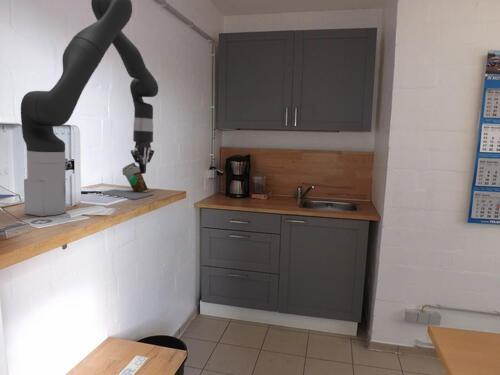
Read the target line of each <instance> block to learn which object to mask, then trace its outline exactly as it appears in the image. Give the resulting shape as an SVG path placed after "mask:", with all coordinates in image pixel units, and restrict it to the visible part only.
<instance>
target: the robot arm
mask: <svg viewBox="0 0 500 375" xmlns="http://www.w3.org/2000/svg"><path fill="white" fill-rule="evenodd" d="M90 4H91V9H92V12H93V15H94V17H95V19H96V20H97V21H95V22H94V23H92V24H90V25H88V26H87V27H85V28H83V29H82V30H80V31H78V32H77V33H76V34H75V35H74V36H73V37H72V39H71V40H70V41H69V42H68V44H67V45H66V47H65V49H64V50H63V53H62V60H61V61H62V74H61V76H60V78H59V79H58V81H57V82H56V83H55V85H54V86H53V87H51V89H50V90H32V91H29V92H27V93H26V94H24V96H23V97H22V99H21V102H20V120H21V122H20V123H21V133H22V134H21V135H22V139H23V141H24V143H25V146H26V172H27V174H26V177H27V178H25V179H24V180H23V189H24V190H23V192H24V193H23V195H24V214H25V215H31V216H38V217H44V216H55V215H61V214H65V213H66V211H67V207H66V205H67V198H66V196H67V195H66V192H67V191H66V189H67V188H66V185H67V184H66V143H65V141H63V140H62V139H60V138H59V137H58V136H57V135H56V134H55V132H54V127H61V126H63V125H65V124H67V122H68V121H69V120H70V118H72V115H73V113H74V111H75V109H76V107H77V105H78V102H79V99H80V97H81V95H82V93H83V91H84V89H85V88H86V86H87V85H88V83H89V81H90V79H91V78H92V75H94V72H95V71H96V69H97V68H98V66H99V65H100V64H101V62H102V60H103V58H104V56H105V54H106V53H107V51H108V49H109V48H110V46H111V45H113V47H114V48H115V50H116V51H117V53H118V55H119V57H120V59H121V61H122V63H123V65H124V68H125V70H126V72H127V74H128V76H129V77H130V78H132V80H131V81H130V85H129V90H130V94H131V97H132V101H133V106H134V114H133V115H134V116H133V117H134V118H133V130H132V131H133V136H132V138H133V139H132V140H133V142H134V143H135V145H134V149H132V150H130V154H131V156H132V157H133V159H134V163H136V164H138V167H139V169H140V171H141V174H142V175H143V174H144V175H145V174H146V173H147V164H148V163H150V162H151V160H152V158H153V155H154V154H155V150H154V149H152V145H151V144H152V143H153V141H154V106H153V105H152V104H151V103H148V102H145V101H144V99H143V98H155V97H156V96H157V95H158V93H159V84H158V82H157V80H156V78H155V77H154V76H153V75H152V73H151V72H150V71H149V69H148V68H147V67H146V64H145V60H144V59H143V57H142V54H141V52H140V50H139V49H138V47H137V46H136V45H135V44H134V43H133V42H132V40H130V39H129V38H128V37H127V35H126V34H124V32H123V31H122V30H123V29H124V28H125V27H126V25H128V22H130V19H131V17H132V15H133V14H132V13H133V4H132V0H91V2H90Z"/></svg>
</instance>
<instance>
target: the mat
mask: <svg viewBox="0 0 500 375" xmlns="http://www.w3.org/2000/svg"><path fill="white" fill-rule="evenodd" d="M100 192H101V193H96V192H95V193H96V194H103V195H109V196H108V197H110V196H117V197H124V198H123V199H125V198H127V199H126V200H134V201H135V200H139V199H144V198H149V197H153V196H154V193H147V192H134V191H133V190H131V191H129V190H123V189H116V188H115V189H109V190H101V191H100ZM117 197H116V198H117Z"/></svg>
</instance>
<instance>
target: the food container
mask: <svg viewBox="0 0 500 375" xmlns="http://www.w3.org/2000/svg"><path fill="white" fill-rule="evenodd" d="M135 163H136V162H131V163H130V164H127V165H125V166H124V167H123V168H122V171H121V172H122V175H123V176H125V177H126V179H127V181H128V183H129V185H130V188H131V189H132V192H140V193H143V192H144V191H147V190H149V188H148V187H147V184H146V181H145V178H144V176H143V174H141V171H140V169H139V166H137V165H136V164H135Z"/></svg>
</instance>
